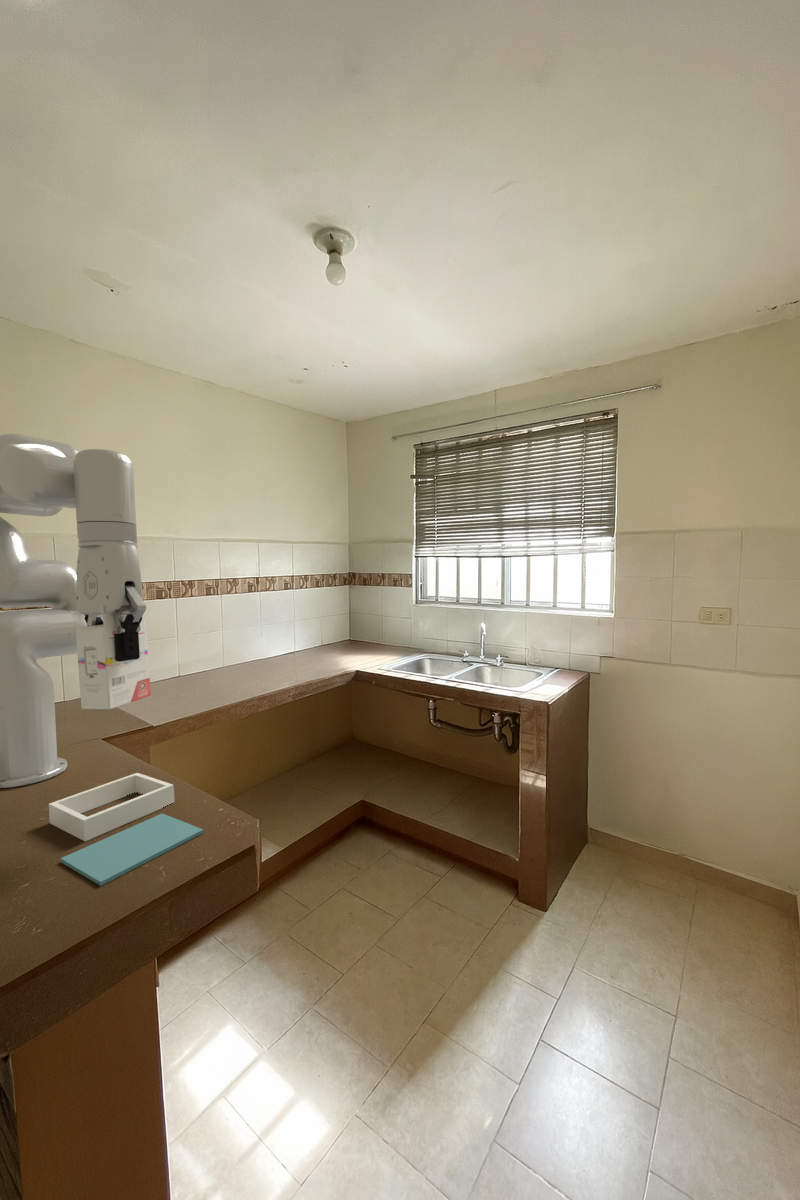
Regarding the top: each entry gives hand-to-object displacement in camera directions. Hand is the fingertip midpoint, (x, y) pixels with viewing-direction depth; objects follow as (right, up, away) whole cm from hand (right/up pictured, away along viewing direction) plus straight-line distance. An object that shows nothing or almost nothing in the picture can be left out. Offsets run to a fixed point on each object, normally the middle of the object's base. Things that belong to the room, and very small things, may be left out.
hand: (114, 657), depth 72 cm
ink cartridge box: (0, -7, 0) cm, 7 cm away
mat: (+6, -25, -6) cm, 26 cm away
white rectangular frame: (-3, -25, +5) cm, 26 cm away
